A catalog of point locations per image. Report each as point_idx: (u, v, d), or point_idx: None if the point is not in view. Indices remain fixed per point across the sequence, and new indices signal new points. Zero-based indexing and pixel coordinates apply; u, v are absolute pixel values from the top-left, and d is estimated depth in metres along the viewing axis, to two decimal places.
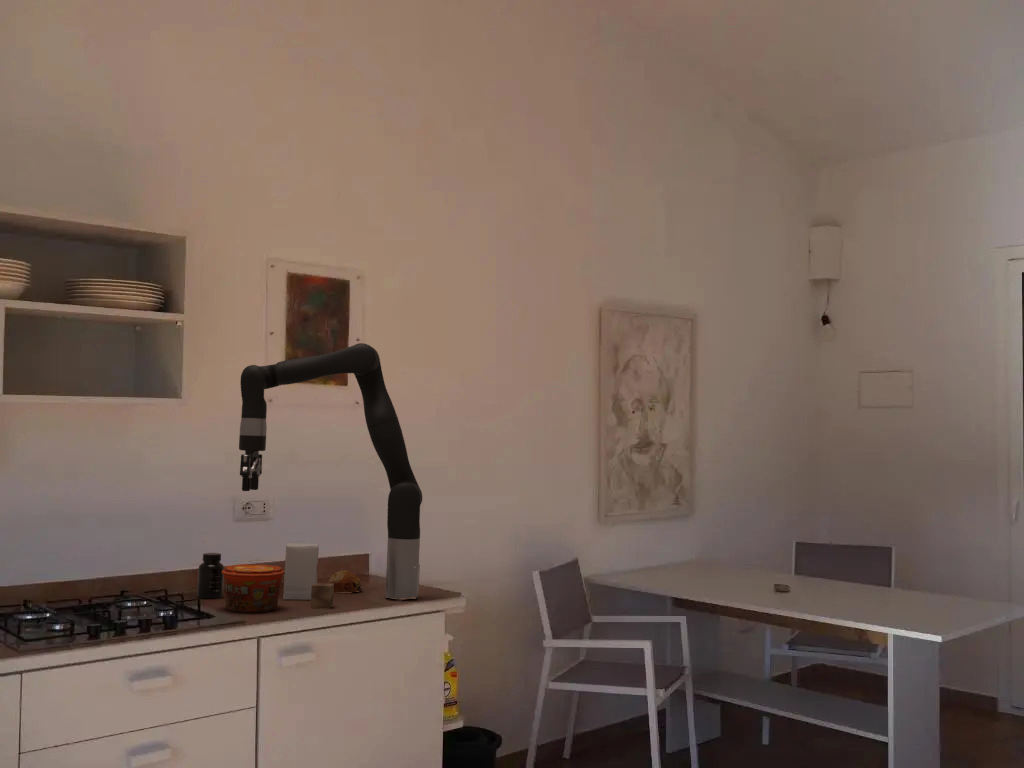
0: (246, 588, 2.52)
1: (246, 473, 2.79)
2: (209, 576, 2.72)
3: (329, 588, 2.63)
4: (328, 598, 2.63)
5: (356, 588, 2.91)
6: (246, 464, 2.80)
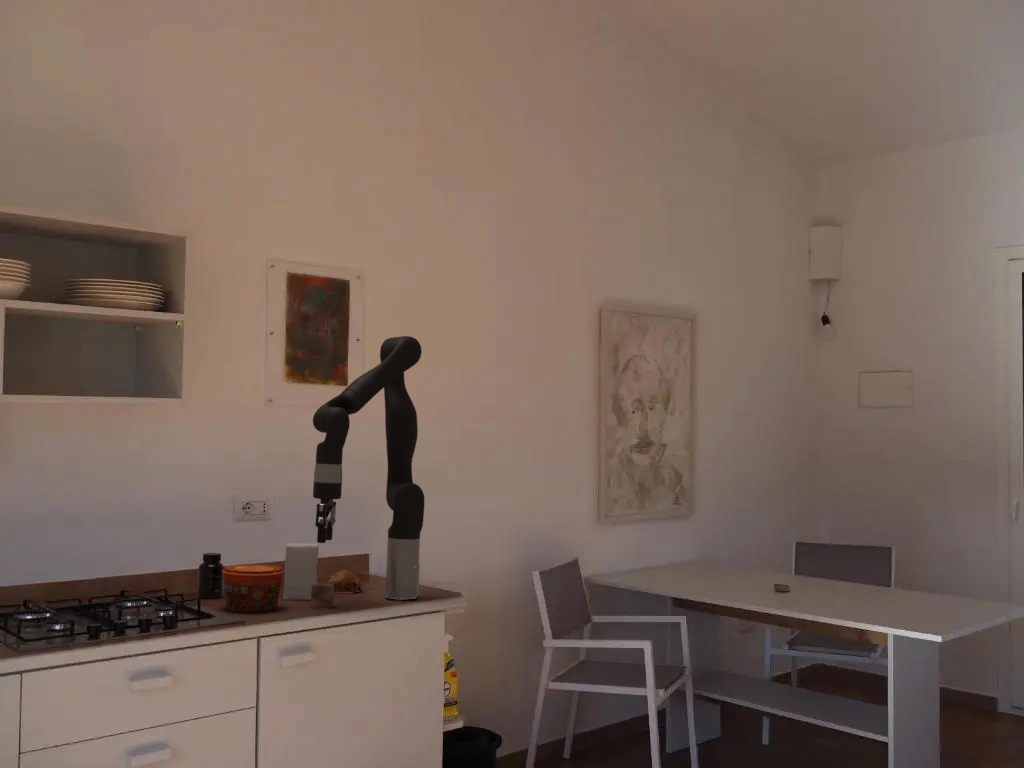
0: (246, 588, 2.52)
1: (322, 524, 2.60)
2: (209, 576, 2.72)
3: (329, 588, 2.63)
4: (328, 598, 2.63)
5: (356, 588, 2.91)
6: (322, 514, 2.60)
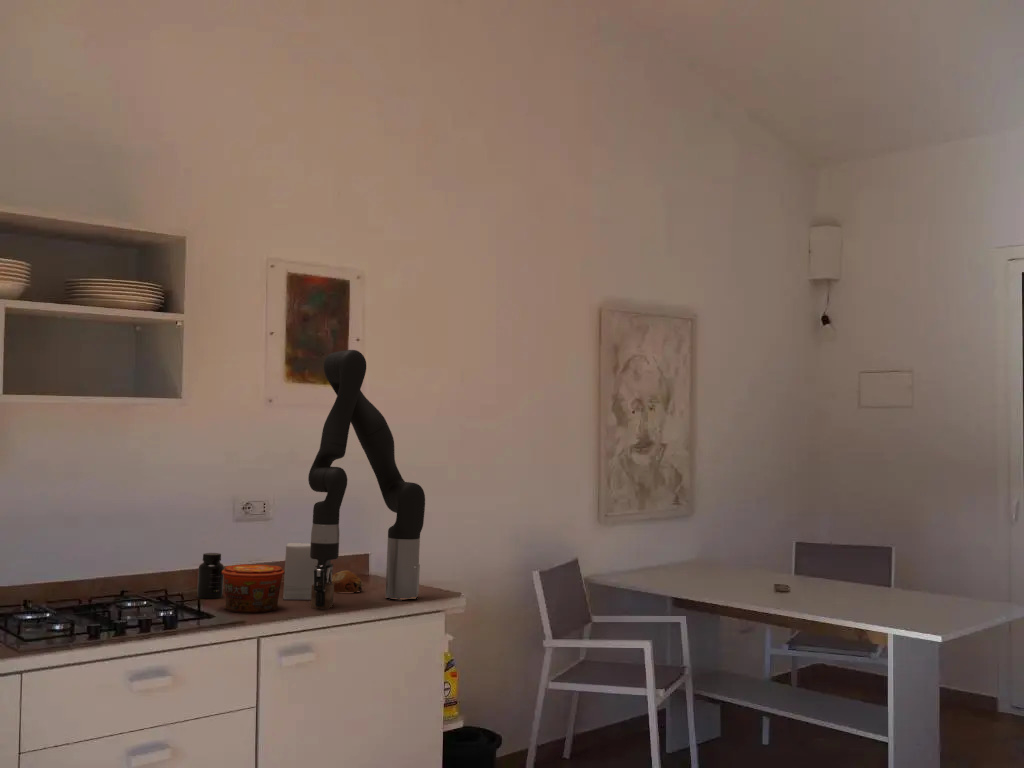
0: (246, 588, 2.52)
1: (321, 589, 2.60)
2: (209, 576, 2.72)
3: (329, 588, 2.63)
4: (328, 598, 2.63)
5: (357, 588, 2.91)
6: (320, 580, 2.59)
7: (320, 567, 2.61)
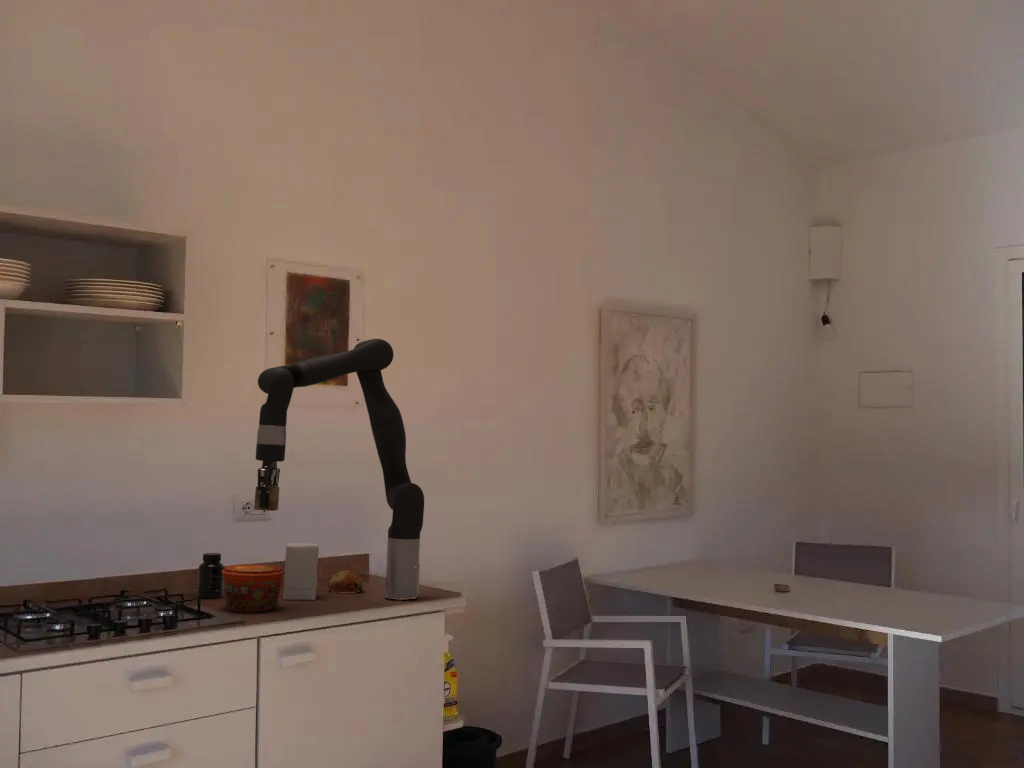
0: (246, 588, 2.52)
1: (264, 489, 2.56)
2: (209, 576, 2.72)
3: (273, 490, 2.59)
4: (272, 500, 2.59)
5: (357, 588, 2.91)
6: (264, 480, 2.55)
7: (264, 467, 2.57)
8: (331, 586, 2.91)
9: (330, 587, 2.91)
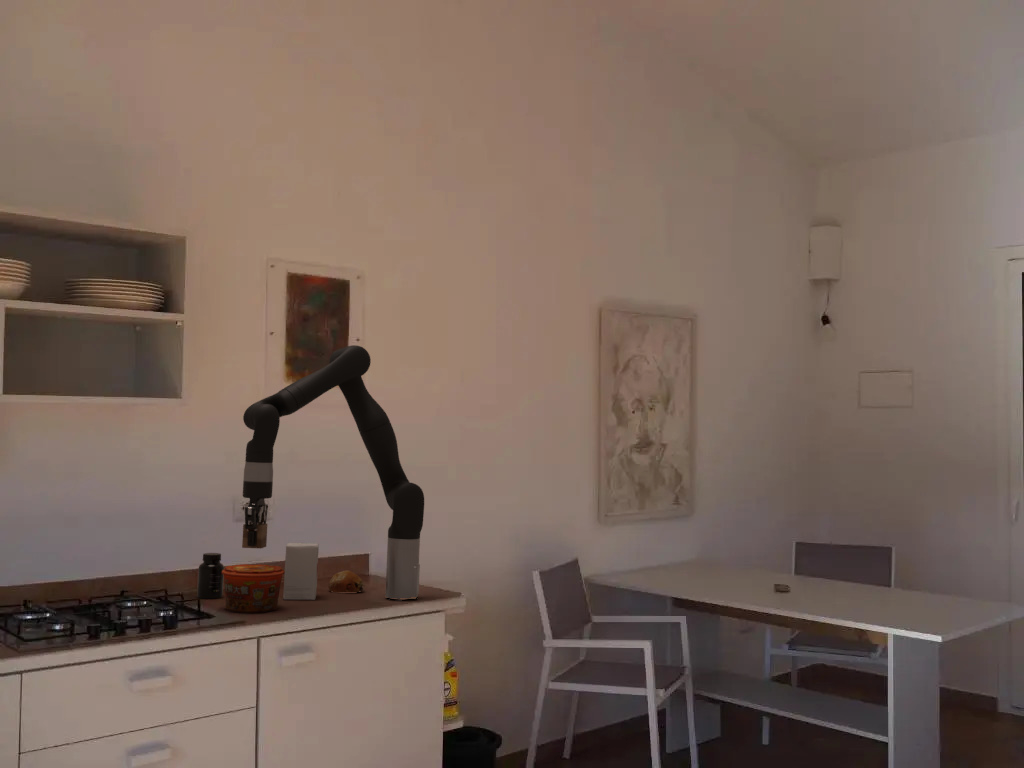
0: (246, 588, 2.52)
1: (252, 527, 2.54)
2: (209, 576, 2.72)
3: (261, 527, 2.57)
4: (260, 537, 2.57)
5: (358, 588, 2.91)
6: (251, 518, 2.54)
7: (252, 505, 2.55)
8: (331, 586, 2.91)
9: (330, 587, 2.91)
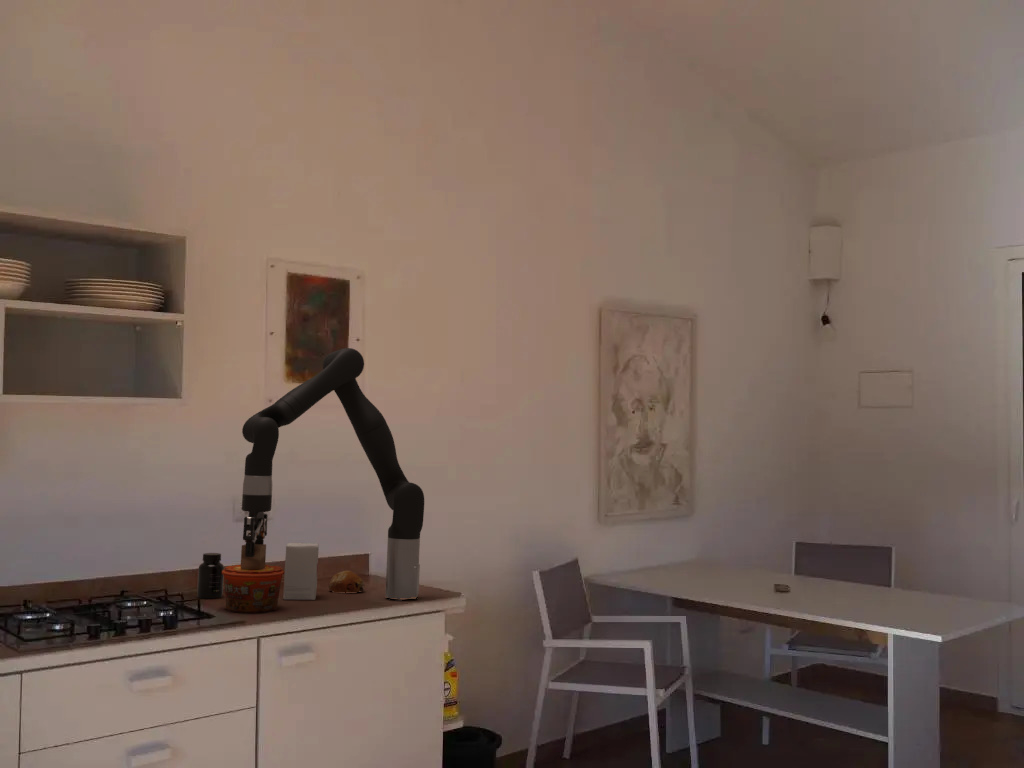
0: (246, 588, 2.52)
1: (250, 538, 2.53)
2: (209, 576, 2.72)
3: (259, 548, 2.57)
4: (258, 558, 2.56)
5: (358, 588, 2.91)
6: (250, 528, 2.53)
7: (251, 517, 2.55)
8: (332, 586, 2.91)
9: (331, 587, 2.91)
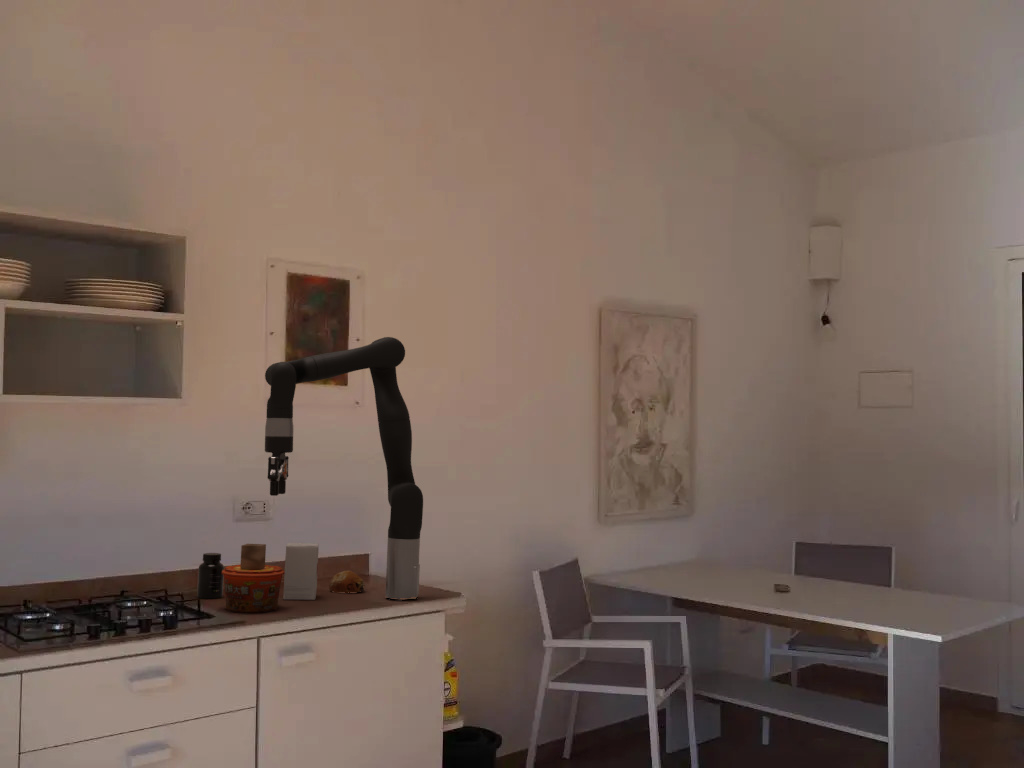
0: (246, 588, 2.52)
1: (274, 476, 2.63)
2: (209, 576, 2.72)
3: (259, 548, 2.57)
4: (258, 558, 2.56)
5: (359, 588, 2.91)
6: (274, 467, 2.63)
7: None
8: (332, 586, 2.91)
9: (331, 587, 2.91)
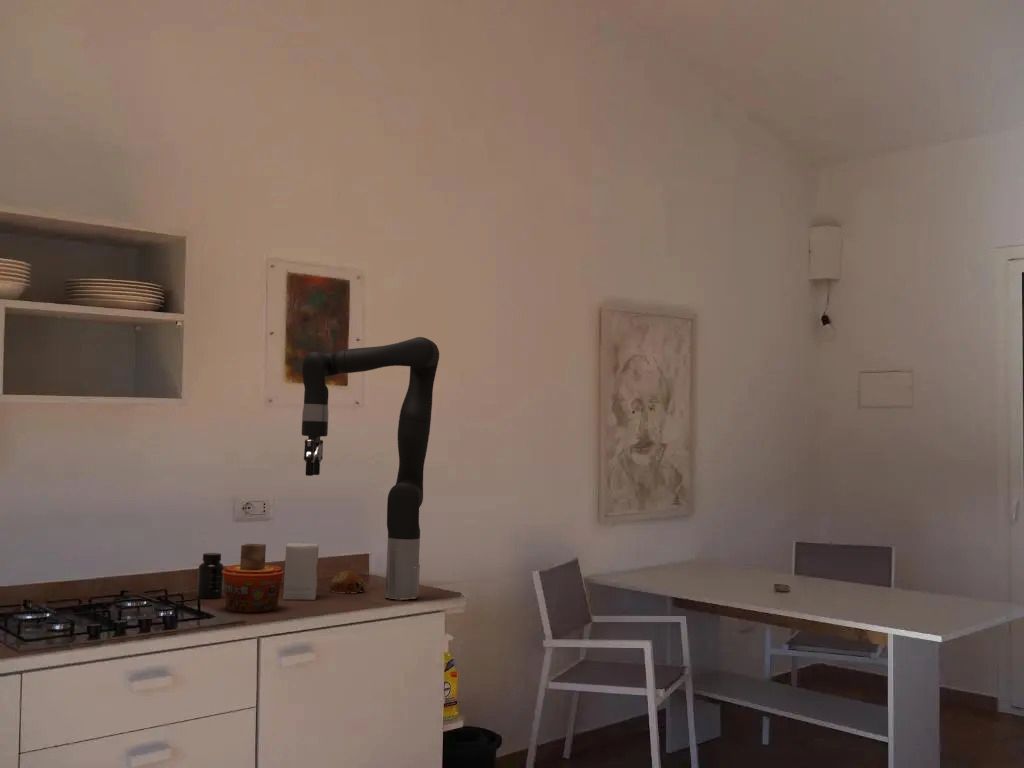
0: (246, 588, 2.52)
1: (310, 458, 2.84)
2: (209, 576, 2.72)
3: (259, 548, 2.57)
4: (258, 558, 2.56)
5: (359, 588, 2.91)
6: (310, 449, 2.84)
7: None
8: (333, 586, 2.91)
9: (332, 587, 2.91)
